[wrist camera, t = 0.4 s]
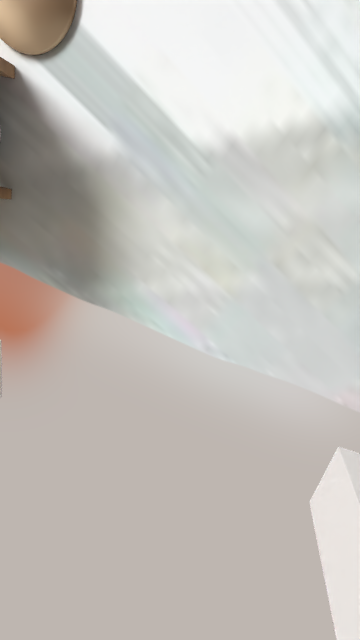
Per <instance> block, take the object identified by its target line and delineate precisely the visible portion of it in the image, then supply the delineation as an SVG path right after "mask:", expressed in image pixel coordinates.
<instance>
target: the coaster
mask: <svg viewBox="0 0 360 640" xmlns="http://www.w3.org/2000/svg"><path fill="white" fill-rule="evenodd" d="M76 4H77V0H0V38H1V39H2V40H3V41H4V42H5V43H6V44H8V45H9V46H10V47H12V48H13V49H15V50H17V51H19V52H21V53H24V54H27V55H40V54H44V53H46V52H48V51H50V50H52V49H53V48H55V47H56V46H57V45H58V44H59V43H60V42H61V41H62V40H63V38H64V37H65V35H66V34H67V32H68V30H69V28H70V26H71V24H72V21H73V18H74V14H75V10H76Z"/></svg>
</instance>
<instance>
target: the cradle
mask: <svg viewBox="0 0 360 640" xmlns="http://www.w3.org/2000/svg"><path fill="white" fill-rule="evenodd" d="M0 76H4V77H9V78H13V79H14V77H15V66H14V65H12V64H11V63H9V62H7V61H6V60H4V59H3V58H1V57H0ZM11 193H12V189H8V188H4V187H0V198H1V199H11Z"/></svg>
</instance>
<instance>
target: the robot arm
mask: <svg viewBox="0 0 360 640" xmlns="http://www.w3.org/2000/svg"><path fill="white" fill-rule="evenodd" d="M1 397H2V358H1V340H0V398H1ZM310 507H311V513H312V518H313V523H314V528H315V533H316V537H317V543H318V548H319V553H320V558H321V563H322V568H323V573H324V578H325V583H326V588H327V593H328V598H329V603H330V608H331V614H332V619H333V624H334V629H335V634H336V639H337V640H360V453H358V452H354V451H351V450H348V449H345V448H342V447H338V448H337V450H336V452H335V454H334V456H333V458H332V460H331V462H330V464H329V466H328V467H327V470H326V471H325V473H324V475H323V477H322V479H321V481H320V483H319V485H318V487H317V489H316V490H315V492H314V495H313V496H312V499H311V500H310Z"/></svg>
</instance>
